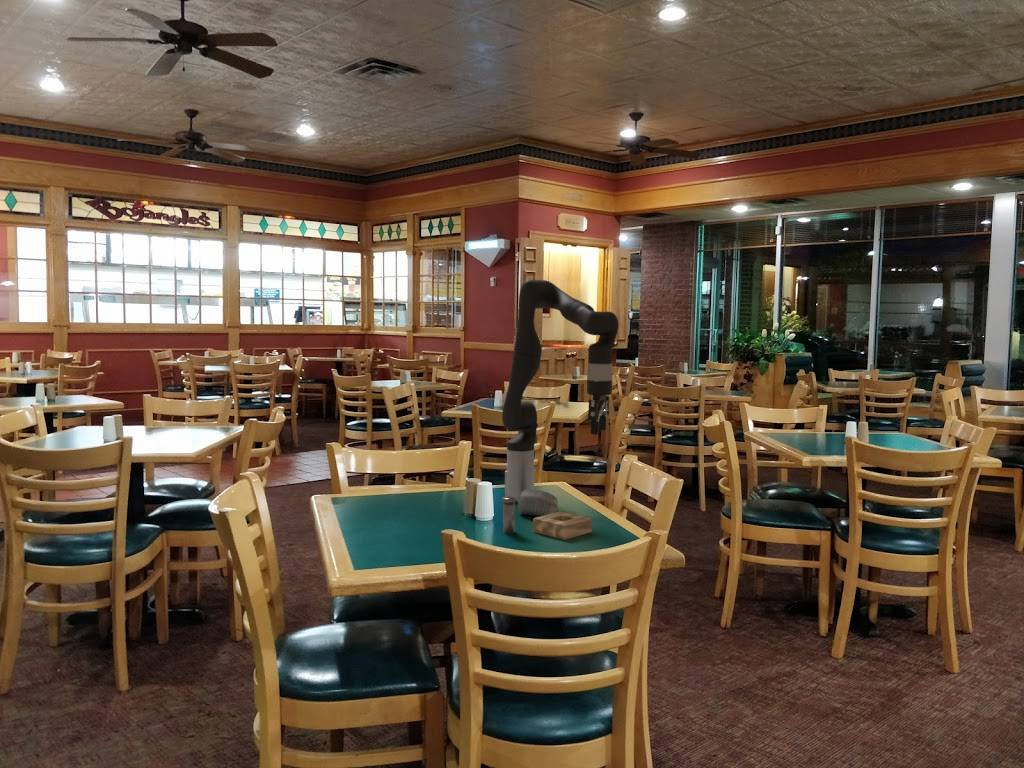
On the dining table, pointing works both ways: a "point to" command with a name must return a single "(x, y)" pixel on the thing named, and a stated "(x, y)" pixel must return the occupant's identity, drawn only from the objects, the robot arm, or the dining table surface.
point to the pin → (508, 514)
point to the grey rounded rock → (537, 503)
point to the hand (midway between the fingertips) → (598, 432)
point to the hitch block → (562, 525)
